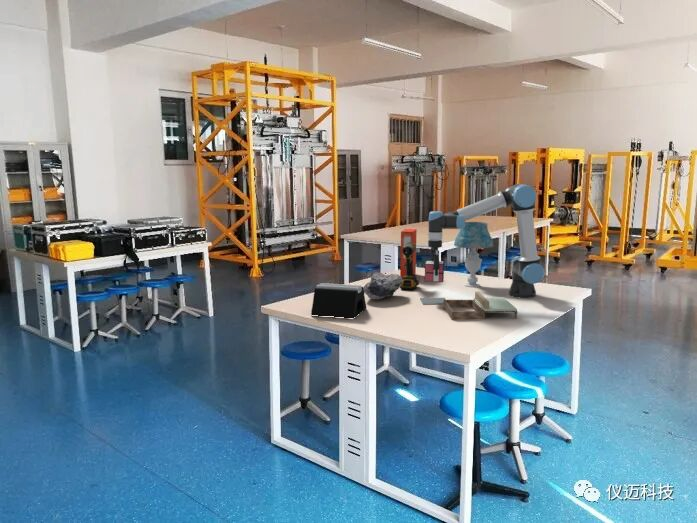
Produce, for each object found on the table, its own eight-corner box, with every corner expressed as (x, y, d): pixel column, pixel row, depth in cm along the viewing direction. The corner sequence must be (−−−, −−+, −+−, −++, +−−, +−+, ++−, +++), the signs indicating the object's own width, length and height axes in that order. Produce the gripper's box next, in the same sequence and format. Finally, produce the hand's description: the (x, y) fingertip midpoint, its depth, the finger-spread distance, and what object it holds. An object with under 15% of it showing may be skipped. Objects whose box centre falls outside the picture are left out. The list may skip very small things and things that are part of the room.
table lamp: (446, 287, 355) (447, 223, 348) (464, 281, 372) (466, 220, 366) (480, 292, 339) (482, 225, 333) (498, 285, 357) (500, 222, 350)
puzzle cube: (443, 282, 308) (443, 264, 306) (424, 281, 310) (424, 263, 308) (443, 278, 317) (444, 261, 316) (425, 278, 319) (426, 260, 318)
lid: (503, 298, 301) (503, 291, 301) (517, 310, 277) (517, 302, 276) (473, 299, 301) (473, 291, 301) (484, 310, 277) (484, 302, 276)
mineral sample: (377, 292, 341) (377, 268, 338) (407, 295, 332) (407, 270, 330) (357, 302, 317) (357, 276, 314) (389, 305, 308) (389, 278, 306)
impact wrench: (420, 285, 359) (421, 242, 355) (414, 292, 339) (415, 246, 335) (399, 284, 363) (400, 241, 359) (392, 291, 343) (392, 245, 339)
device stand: (353, 320, 280) (352, 291, 278) (311, 317, 288) (310, 288, 285) (366, 309, 301) (366, 282, 299) (326, 306, 309) (326, 279, 306)
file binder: (416, 274, 397) (416, 229, 391) (412, 279, 380) (412, 231, 375) (404, 273, 399) (405, 228, 394) (400, 278, 382) (400, 231, 377)
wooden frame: (503, 307, 302) (503, 299, 301) (516, 320, 277) (517, 311, 277) (443, 308, 302) (443, 299, 301) (451, 320, 278) (451, 311, 277)
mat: (444, 299, 322) (444, 297, 322) (448, 305, 309) (448, 303, 308) (420, 299, 323) (420, 297, 322) (423, 305, 309) (423, 303, 309)
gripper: (425, 237, 321) (424, 275, 325) (431, 242, 298) (430, 283, 302) (438, 237, 321) (437, 275, 325) (445, 242, 298) (444, 283, 302)
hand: (434, 279), depth 313 cm, fingers closed on puzzle cube, 11 cm apart
